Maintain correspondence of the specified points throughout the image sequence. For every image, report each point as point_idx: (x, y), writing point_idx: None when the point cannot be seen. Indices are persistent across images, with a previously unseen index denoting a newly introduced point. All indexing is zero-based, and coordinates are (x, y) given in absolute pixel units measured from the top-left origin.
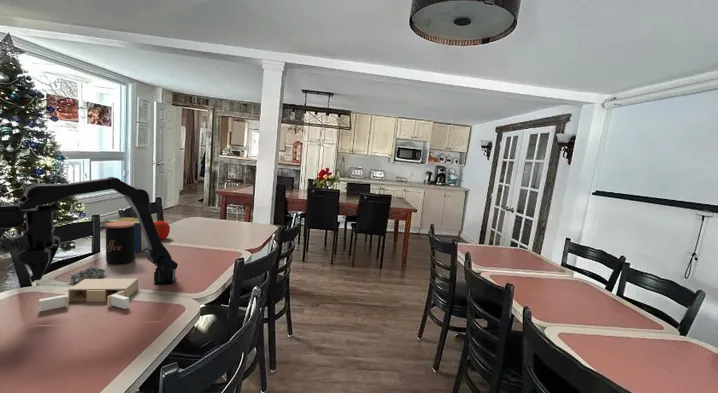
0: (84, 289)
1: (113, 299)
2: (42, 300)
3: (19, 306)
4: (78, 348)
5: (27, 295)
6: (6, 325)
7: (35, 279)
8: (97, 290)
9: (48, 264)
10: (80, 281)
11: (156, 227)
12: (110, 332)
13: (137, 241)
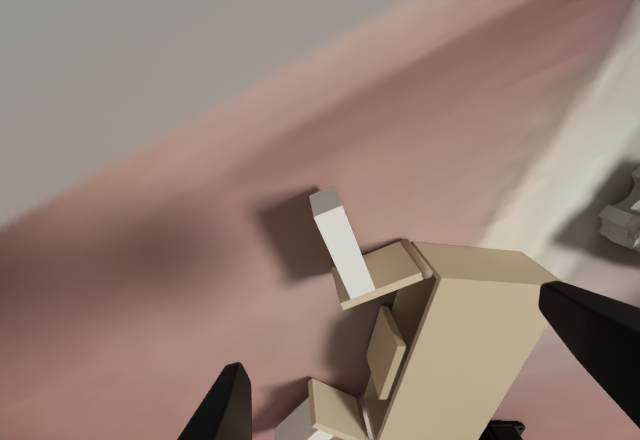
0: (417, 335)
1: (308, 424)
2: (322, 226)
3: (427, 51)
4: (32, 406)
5: (583, 11)
6: (203, 113)
7: (220, 373)
8: (390, 377)
9: (589, 363)
10: (623, 216)
11: None
12: (133, 433)
13: None
